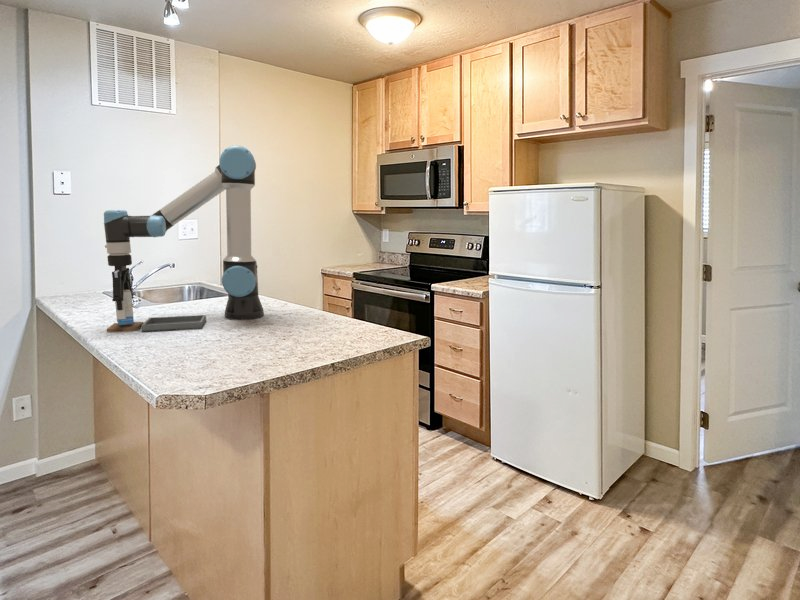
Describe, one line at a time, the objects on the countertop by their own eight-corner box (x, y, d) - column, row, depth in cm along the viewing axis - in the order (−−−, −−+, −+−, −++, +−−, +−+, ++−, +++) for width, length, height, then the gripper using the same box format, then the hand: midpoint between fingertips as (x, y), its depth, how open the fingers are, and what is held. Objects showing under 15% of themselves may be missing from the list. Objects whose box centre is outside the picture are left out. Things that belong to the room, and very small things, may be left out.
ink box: (134, 324, 189) (131, 283, 187) (119, 325, 187) (115, 284, 184) (131, 320, 196) (128, 280, 194) (116, 321, 194) (112, 281, 191)
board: (143, 324, 198) (143, 321, 198) (137, 330, 188) (137, 327, 188) (114, 326, 196) (114, 323, 195) (106, 332, 186) (106, 328, 186)
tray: (206, 321, 204) (205, 315, 203) (202, 329, 190) (201, 322, 190) (150, 324, 199) (149, 317, 199) (141, 332, 186) (141, 325, 185)
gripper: (115, 252, 197) (121, 311, 201) (98, 257, 176) (104, 323, 180) (137, 251, 199) (143, 310, 203) (122, 256, 178) (129, 321, 182)
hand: (125, 316), depth 191 cm, fingers closed on ink box, 9 cm apart
